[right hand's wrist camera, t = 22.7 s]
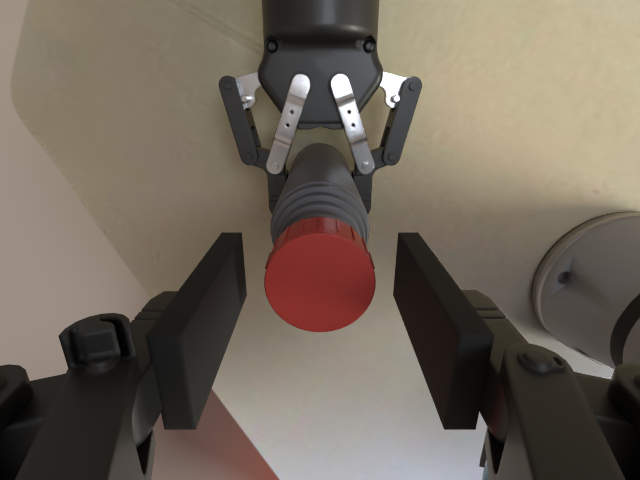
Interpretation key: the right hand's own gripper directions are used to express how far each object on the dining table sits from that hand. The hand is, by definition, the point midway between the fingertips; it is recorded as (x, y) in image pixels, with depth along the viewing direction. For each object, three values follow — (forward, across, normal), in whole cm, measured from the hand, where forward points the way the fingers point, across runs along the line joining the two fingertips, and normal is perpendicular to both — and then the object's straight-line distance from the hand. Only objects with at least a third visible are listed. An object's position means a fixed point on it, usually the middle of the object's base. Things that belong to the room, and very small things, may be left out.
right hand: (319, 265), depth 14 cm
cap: (-1, 0, 0) cm, 1 cm away
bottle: (+21, 0, 0) cm, 21 cm away
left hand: (+14, 0, -3) cm, 15 cm away
